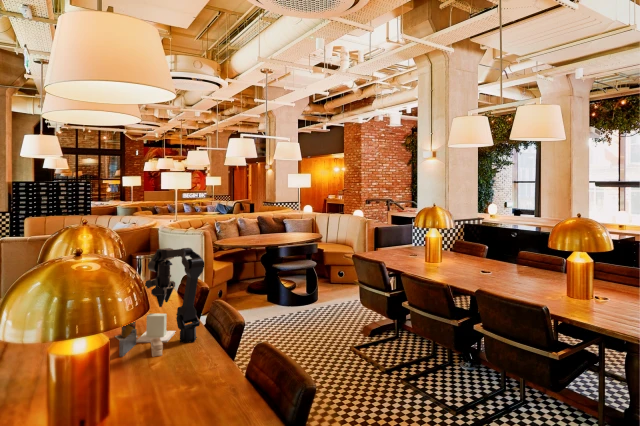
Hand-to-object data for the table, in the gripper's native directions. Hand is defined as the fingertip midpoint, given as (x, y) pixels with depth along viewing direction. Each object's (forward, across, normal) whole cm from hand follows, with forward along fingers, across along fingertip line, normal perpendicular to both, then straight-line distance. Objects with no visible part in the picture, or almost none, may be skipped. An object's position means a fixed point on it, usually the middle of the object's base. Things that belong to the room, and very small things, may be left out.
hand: (163, 304), depth 208 cm
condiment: (+13, +10, -14) cm, 22 cm away
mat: (+13, +10, 0) cm, 16 cm away
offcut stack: (+13, +28, +6) cm, 32 cm away
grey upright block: (+12, +10, 0) cm, 16 cm away
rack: (+13, +27, -6) cm, 31 cm away
